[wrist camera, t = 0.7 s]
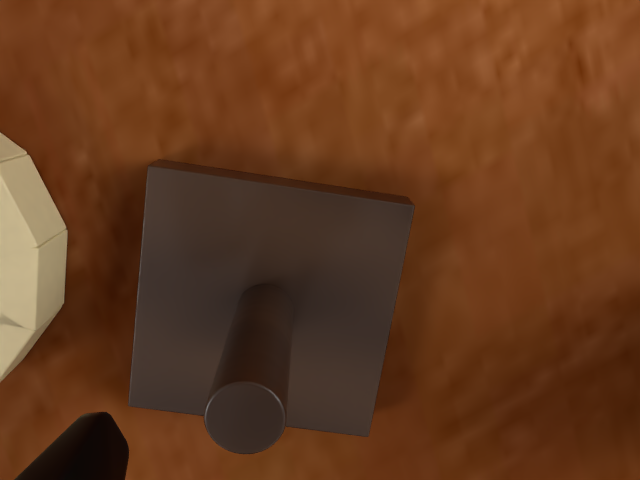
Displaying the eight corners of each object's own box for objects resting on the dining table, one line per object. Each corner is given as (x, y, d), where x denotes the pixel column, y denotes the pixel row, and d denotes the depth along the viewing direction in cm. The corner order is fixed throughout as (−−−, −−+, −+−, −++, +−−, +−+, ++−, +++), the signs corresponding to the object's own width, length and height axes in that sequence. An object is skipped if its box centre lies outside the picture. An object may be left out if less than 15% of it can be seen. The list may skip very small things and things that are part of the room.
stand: (365, 415, 24) (393, 590, 16) (138, 386, 24) (48, 550, 16) (408, 196, 22) (467, 270, 14) (158, 158, 21) (64, 211, 13)
